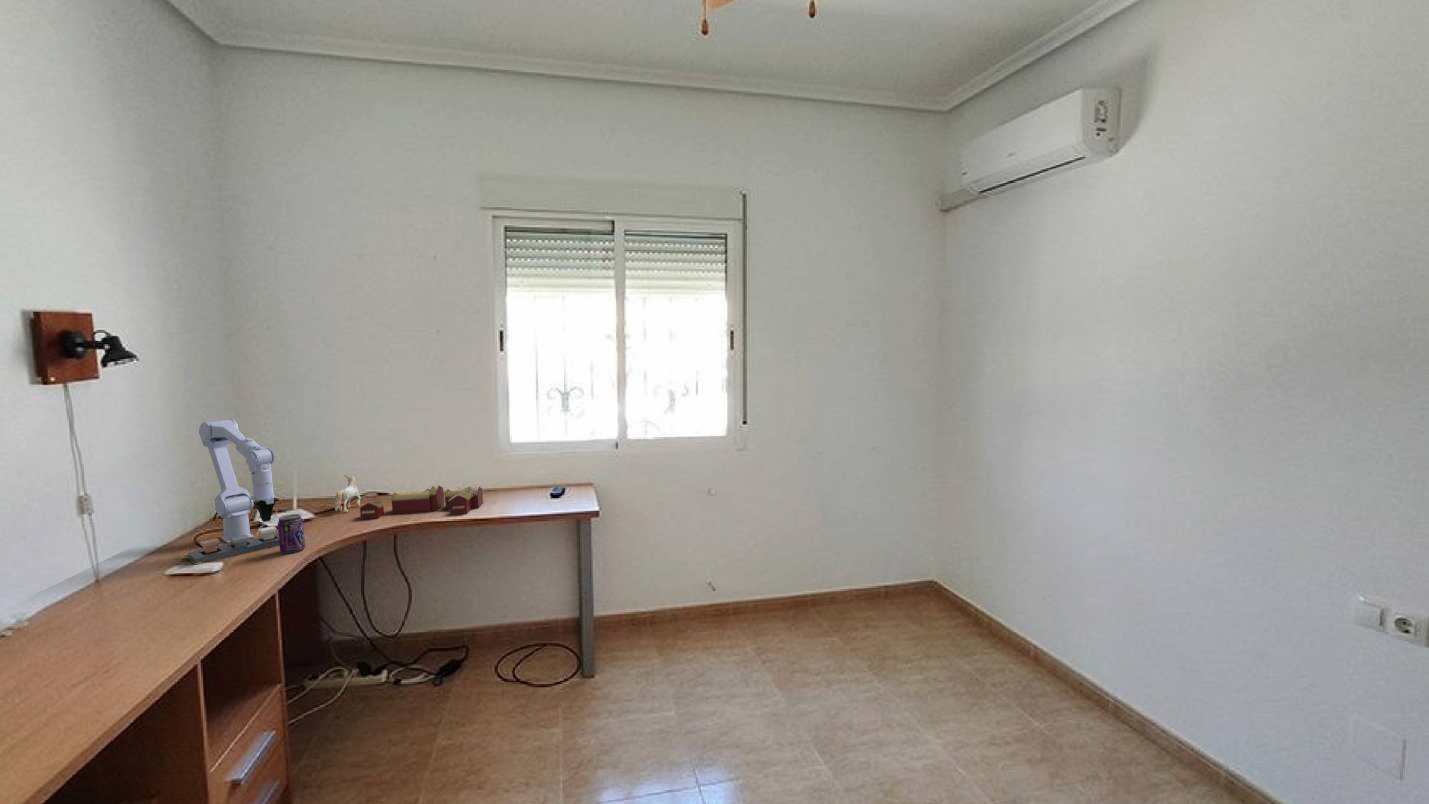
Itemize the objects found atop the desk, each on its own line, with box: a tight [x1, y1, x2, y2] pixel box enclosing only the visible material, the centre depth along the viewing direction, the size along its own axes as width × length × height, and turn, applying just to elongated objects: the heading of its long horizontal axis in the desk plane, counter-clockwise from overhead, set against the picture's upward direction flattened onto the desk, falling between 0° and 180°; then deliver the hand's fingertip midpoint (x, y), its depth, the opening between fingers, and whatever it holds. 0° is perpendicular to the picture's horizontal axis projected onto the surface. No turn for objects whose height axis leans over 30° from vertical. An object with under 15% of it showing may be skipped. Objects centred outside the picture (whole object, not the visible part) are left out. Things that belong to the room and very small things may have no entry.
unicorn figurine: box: [333, 474, 361, 513], centre depth 259 cm, size 7×20×13 cm, turn 18°
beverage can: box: [277, 513, 306, 554], centre depth 205 cm, size 7×7×12 cm
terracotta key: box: [199, 537, 221, 553], centre depth 201 cm, size 4×4×3 cm
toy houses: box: [357, 485, 484, 521], centre depth 252 cm, size 45×20×10 cm, turn 98°
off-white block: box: [257, 525, 278, 540], centre depth 213 cm, size 4×4×3 cm
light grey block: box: [230, 535, 250, 548], centre depth 207 cm, size 4×4×3 cm
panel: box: [187, 533, 280, 564], centre depth 208 cm, size 10×26×2 cm, turn 140°
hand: (266, 521), depth 213 cm, fingers closed
